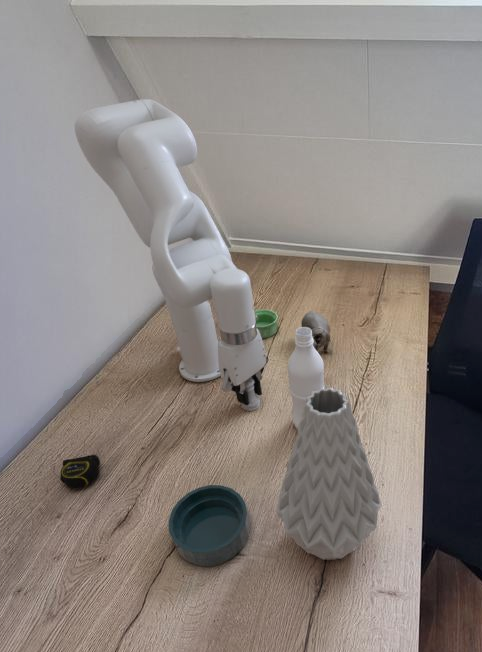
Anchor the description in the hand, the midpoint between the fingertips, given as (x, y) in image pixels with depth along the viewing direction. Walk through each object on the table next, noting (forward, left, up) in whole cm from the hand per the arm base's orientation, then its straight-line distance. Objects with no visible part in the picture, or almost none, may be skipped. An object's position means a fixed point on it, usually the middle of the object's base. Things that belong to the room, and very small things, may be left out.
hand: (249, 396), depth 104 cm
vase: (+35, -16, -3) cm, 39 cm away
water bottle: (+15, +3, -3) cm, 16 cm away
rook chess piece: (0, 0, -3) cm, 3 cm away
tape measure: (-13, -36, -3) cm, 38 cm away
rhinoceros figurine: (-1, +25, -3) cm, 25 cm away
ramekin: (-19, +24, -3) cm, 31 cm away
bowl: (+18, -28, -3) cm, 33 cm away
